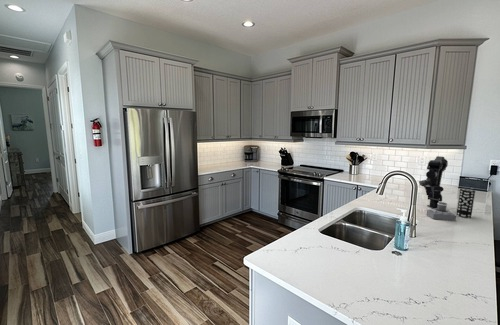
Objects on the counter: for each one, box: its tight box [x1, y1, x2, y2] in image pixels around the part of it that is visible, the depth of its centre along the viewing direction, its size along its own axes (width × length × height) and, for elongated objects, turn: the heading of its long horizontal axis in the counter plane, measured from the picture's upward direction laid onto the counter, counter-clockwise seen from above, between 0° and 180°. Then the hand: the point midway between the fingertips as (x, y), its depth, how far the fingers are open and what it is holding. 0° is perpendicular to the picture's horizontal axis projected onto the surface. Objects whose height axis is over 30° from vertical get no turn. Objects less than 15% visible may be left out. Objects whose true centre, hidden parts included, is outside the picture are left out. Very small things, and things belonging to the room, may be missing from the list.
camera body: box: [426, 208, 457, 222], centre depth 172 cm, size 9×14×6 cm, turn 78°
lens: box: [437, 201, 448, 212], centre depth 171 cm, size 5×5×7 cm
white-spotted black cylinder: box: [455, 188, 476, 219], centre depth 175 cm, size 8×8×20 cm
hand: (430, 197), depth 183 cm, fingers open, 9 cm apart
